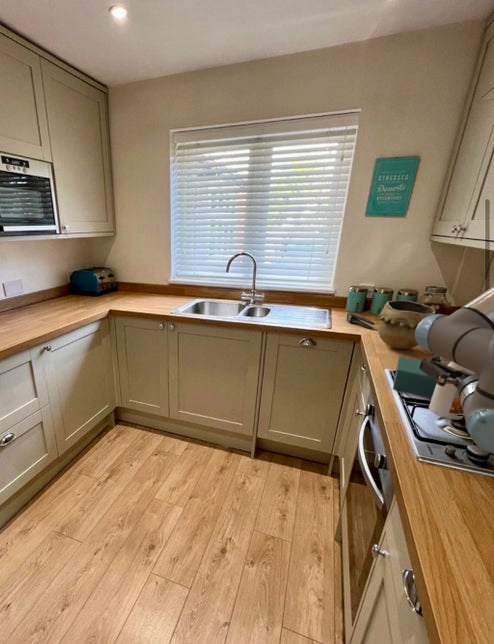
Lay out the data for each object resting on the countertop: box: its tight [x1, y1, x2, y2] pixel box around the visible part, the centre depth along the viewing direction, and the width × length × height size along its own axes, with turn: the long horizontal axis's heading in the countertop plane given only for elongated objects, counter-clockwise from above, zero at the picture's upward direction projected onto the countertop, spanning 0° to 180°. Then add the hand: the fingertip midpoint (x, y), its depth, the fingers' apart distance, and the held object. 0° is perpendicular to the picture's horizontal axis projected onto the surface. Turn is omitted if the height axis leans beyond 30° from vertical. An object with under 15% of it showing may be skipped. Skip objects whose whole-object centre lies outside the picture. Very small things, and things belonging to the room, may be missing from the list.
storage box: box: [392, 355, 437, 399], centre depth 109 cm, size 15×15×7 cm
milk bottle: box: [428, 362, 476, 421], centre depth 89 cm, size 8×8×20 cm
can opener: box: [346, 312, 375, 330], centre depth 181 cm, size 18×7×6 cm, turn 17°
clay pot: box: [377, 299, 436, 350], centre depth 143 cm, size 21×21×20 cm
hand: (470, 363), depth 79 cm, fingers open, 13 cm apart
